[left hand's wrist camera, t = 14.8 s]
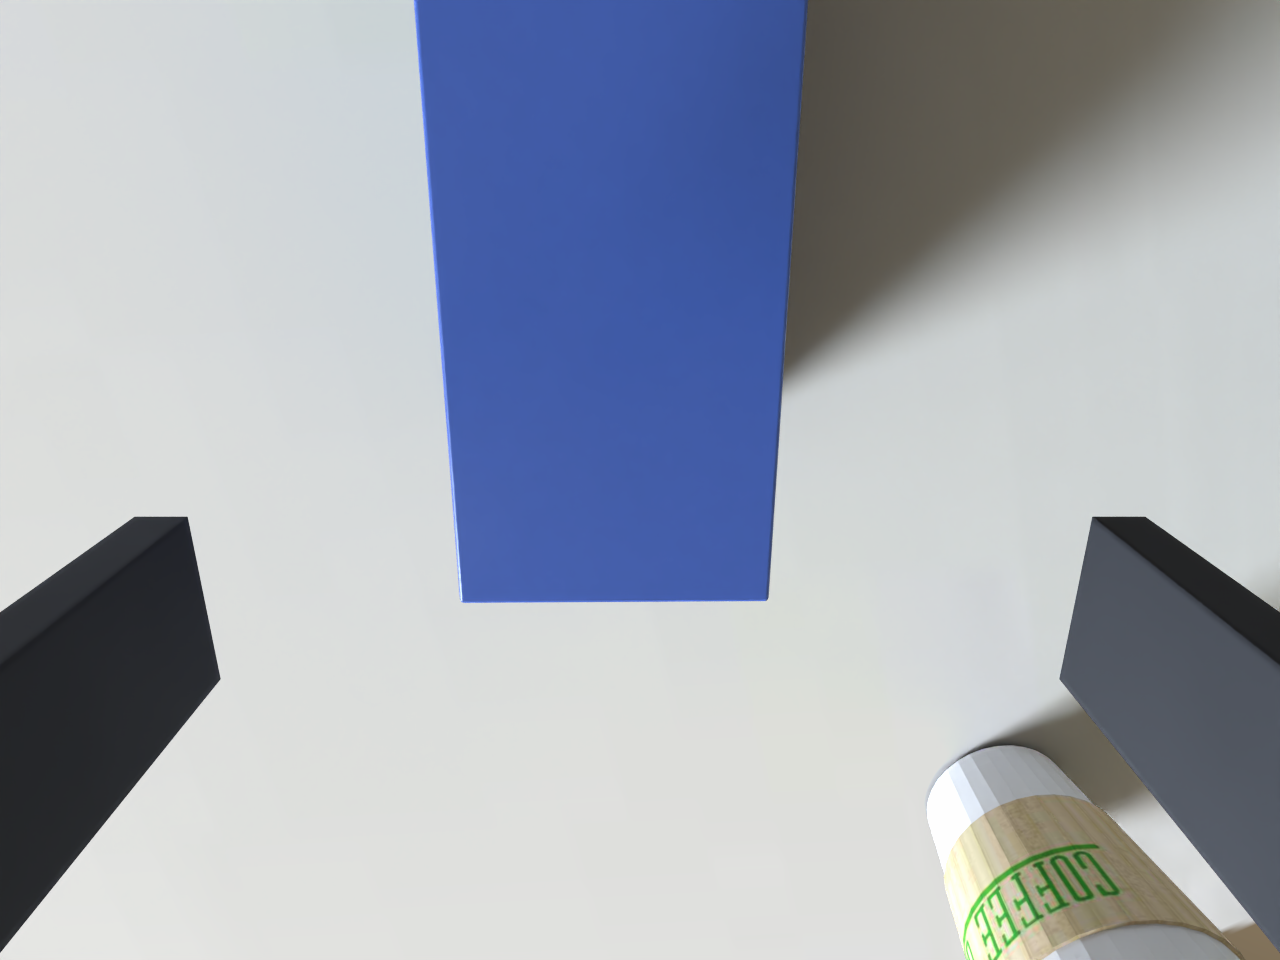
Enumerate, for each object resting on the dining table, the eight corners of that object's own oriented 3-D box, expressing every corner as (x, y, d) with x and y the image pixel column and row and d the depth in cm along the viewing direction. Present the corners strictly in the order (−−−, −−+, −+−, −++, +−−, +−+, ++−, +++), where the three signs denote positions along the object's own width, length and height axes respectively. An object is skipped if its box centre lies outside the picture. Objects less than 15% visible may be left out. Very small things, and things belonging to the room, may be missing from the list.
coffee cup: (881, 725, 36) (1046, 1082, 22) (1114, 695, 36) (1427, 1037, 22) (889, 899, 40) (1036, 1302, 26) (1101, 873, 40) (1366, 1266, 26)
